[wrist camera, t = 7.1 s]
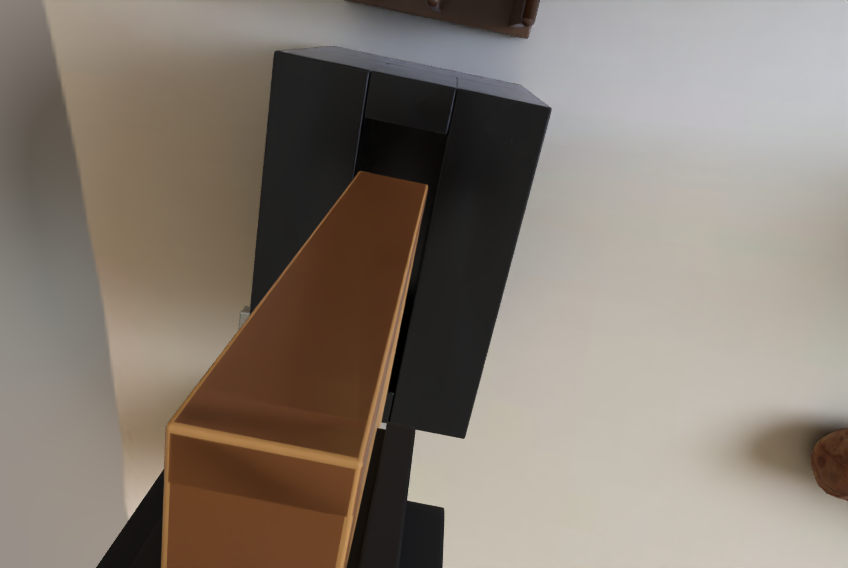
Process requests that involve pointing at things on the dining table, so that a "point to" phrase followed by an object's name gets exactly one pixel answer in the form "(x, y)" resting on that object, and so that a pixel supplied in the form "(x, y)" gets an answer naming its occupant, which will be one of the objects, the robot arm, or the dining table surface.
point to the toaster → (444, 208)
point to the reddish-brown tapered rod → (832, 463)
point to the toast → (296, 397)
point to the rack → (470, 12)
